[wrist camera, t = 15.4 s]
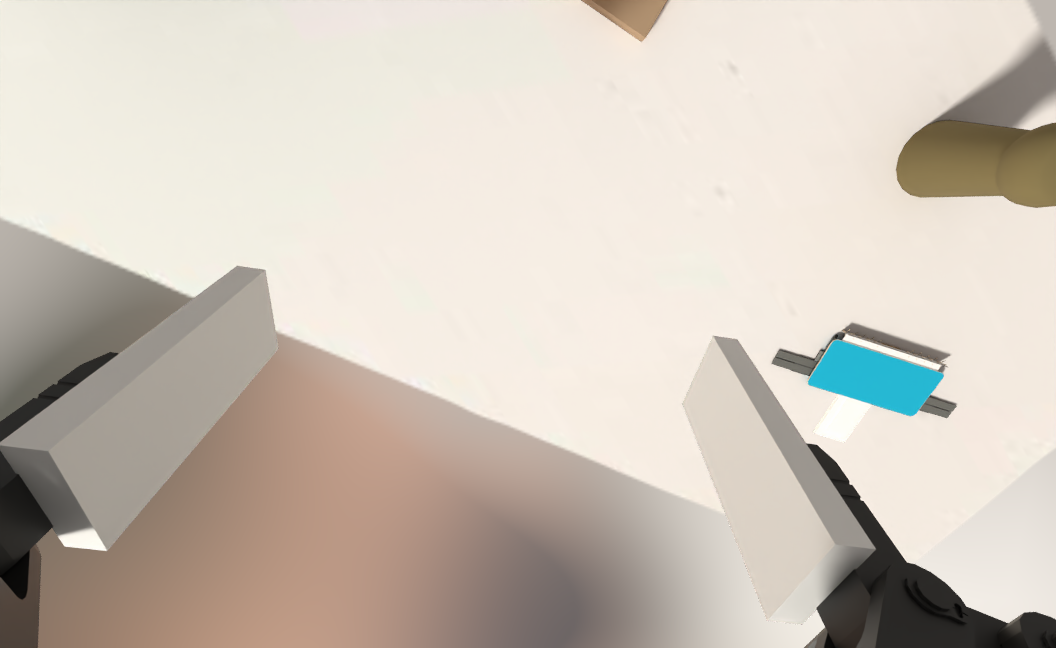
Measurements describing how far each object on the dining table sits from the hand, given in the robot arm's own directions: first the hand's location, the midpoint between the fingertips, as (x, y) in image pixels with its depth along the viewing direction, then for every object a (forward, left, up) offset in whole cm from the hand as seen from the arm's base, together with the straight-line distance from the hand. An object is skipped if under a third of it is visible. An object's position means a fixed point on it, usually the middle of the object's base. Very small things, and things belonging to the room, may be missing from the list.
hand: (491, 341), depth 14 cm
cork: (+28, +21, -29) cm, 45 cm away
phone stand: (+38, +1, -29) cm, 48 cm away
